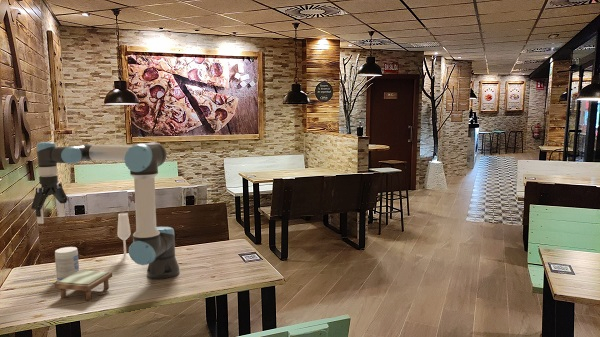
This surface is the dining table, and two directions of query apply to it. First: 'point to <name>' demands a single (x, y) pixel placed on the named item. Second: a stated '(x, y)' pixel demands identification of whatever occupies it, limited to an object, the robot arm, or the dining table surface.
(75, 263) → the supplement tub
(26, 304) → the dining table surface
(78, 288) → the small wooden table
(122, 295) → the dining table surface
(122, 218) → the champagne flute
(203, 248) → the dining table surface
